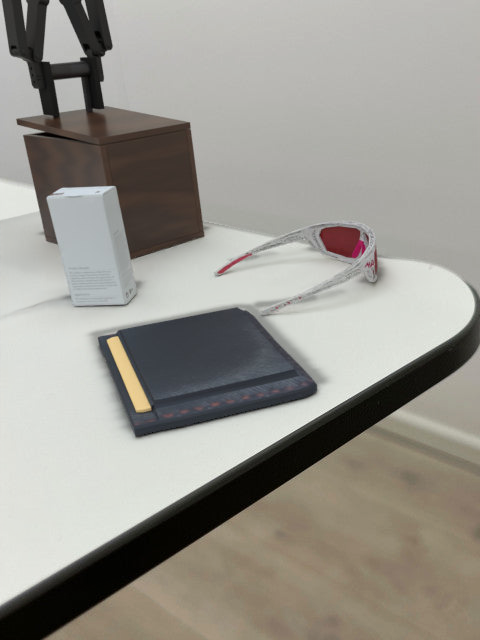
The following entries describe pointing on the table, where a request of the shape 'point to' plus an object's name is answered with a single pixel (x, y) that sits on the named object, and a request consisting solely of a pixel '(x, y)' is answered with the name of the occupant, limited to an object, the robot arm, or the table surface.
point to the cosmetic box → (93, 245)
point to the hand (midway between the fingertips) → (74, 111)
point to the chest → (125, 183)
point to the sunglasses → (326, 253)
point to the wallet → (200, 369)
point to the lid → (98, 116)
